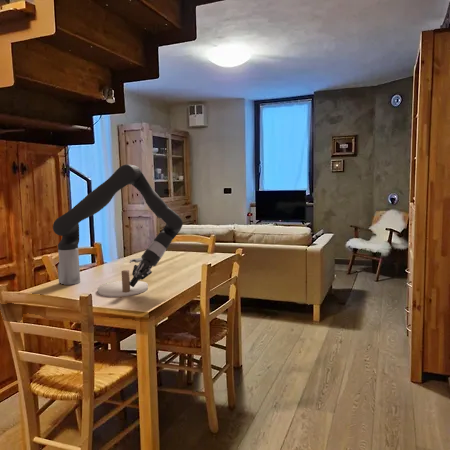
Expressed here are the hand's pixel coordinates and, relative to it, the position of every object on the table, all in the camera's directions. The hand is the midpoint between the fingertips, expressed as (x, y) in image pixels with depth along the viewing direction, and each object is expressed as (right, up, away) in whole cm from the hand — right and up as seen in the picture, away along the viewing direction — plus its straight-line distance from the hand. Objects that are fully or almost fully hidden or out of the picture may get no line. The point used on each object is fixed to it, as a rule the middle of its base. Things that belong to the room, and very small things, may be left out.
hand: (131, 285), depth 178 cm
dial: (-5, -3, +7) cm, 10 cm away
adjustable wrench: (-10, +4, +85) cm, 85 cm away
